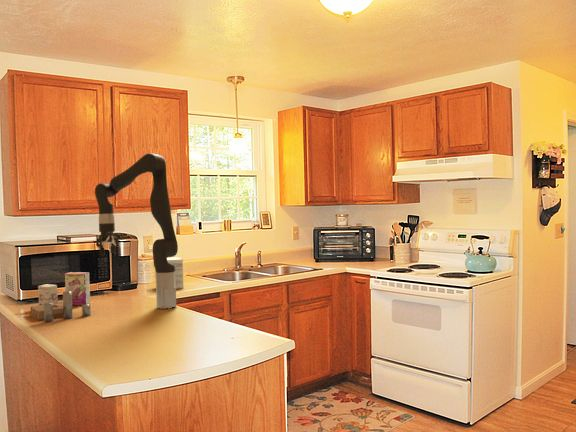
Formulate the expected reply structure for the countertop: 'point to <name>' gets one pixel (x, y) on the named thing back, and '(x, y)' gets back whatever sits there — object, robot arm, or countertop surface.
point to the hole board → (39, 311)
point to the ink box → (47, 294)
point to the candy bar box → (78, 287)
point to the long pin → (67, 304)
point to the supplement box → (177, 270)
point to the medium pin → (48, 312)
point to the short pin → (86, 310)
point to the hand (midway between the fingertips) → (107, 254)
